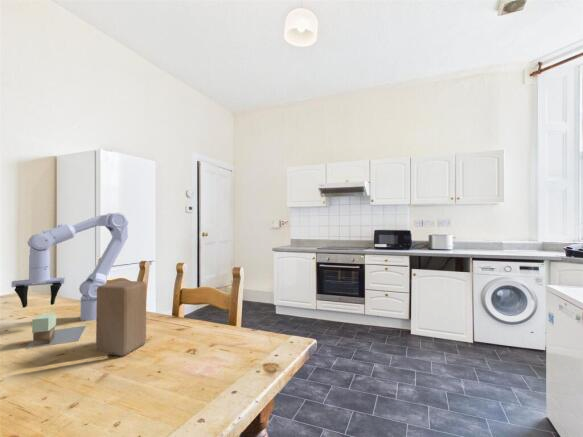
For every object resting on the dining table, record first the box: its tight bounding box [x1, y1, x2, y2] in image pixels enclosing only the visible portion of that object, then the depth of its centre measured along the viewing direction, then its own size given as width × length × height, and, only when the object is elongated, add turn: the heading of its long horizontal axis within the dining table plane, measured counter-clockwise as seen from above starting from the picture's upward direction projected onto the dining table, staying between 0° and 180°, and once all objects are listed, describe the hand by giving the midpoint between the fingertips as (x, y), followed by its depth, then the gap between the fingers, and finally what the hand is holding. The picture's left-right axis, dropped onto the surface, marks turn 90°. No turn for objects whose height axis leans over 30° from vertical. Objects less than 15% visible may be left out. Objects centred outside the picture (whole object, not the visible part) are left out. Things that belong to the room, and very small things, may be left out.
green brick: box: [31, 312, 57, 334], centre depth 94 cm, size 4×6×4 cm, turn 20°
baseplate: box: [24, 325, 87, 350], centre depth 98 cm, size 13×16×1 cm
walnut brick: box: [32, 325, 56, 346], centre depth 94 cm, size 4×6×4 cm, turn 27°
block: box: [95, 280, 147, 357], centre depth 91 cm, size 10×10×20 cm
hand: (38, 305), depth 105 cm, fingers open, 7 cm apart
